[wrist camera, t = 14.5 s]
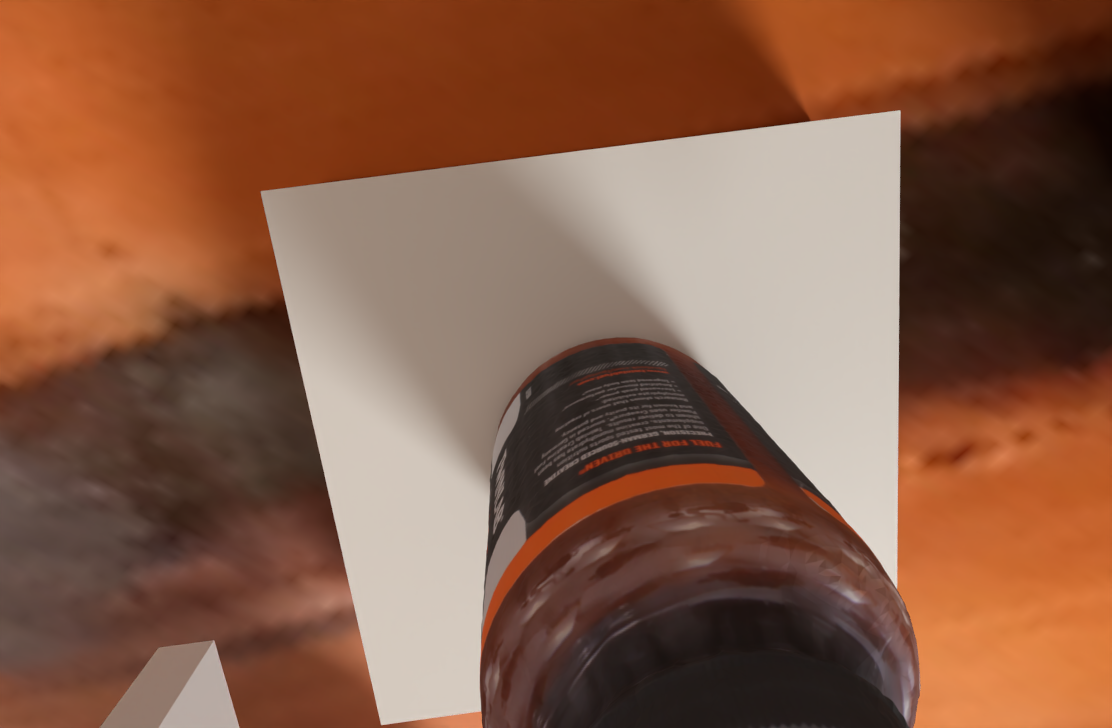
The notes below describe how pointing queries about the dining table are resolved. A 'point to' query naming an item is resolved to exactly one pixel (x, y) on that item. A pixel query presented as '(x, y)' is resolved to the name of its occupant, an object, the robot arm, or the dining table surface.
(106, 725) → the robot arm
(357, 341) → the white flat block
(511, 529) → the supplement bottle
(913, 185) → the dining table surface
